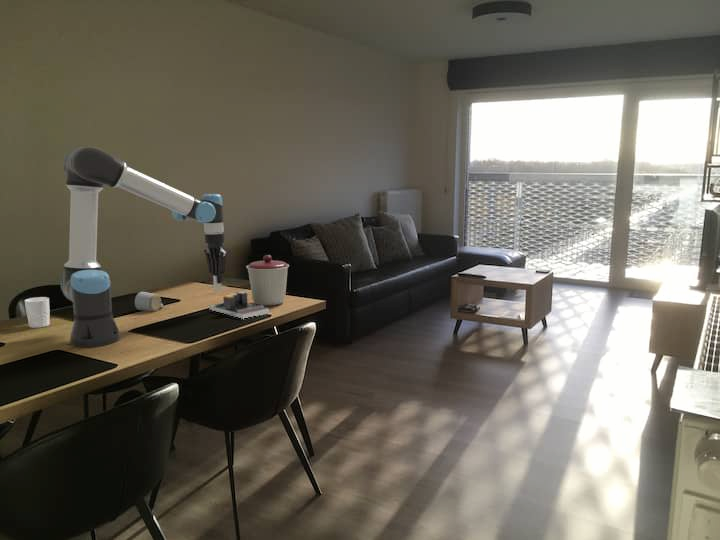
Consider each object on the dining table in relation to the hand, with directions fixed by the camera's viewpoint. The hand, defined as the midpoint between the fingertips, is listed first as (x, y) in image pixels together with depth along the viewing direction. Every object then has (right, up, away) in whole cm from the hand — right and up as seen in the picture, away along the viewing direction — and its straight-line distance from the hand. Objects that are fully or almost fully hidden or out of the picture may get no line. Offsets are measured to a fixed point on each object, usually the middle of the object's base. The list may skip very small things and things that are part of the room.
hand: (218, 290), depth 231 cm
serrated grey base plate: (+9, -9, -1) cm, 12 cm away
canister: (+19, -6, +15) cm, 24 cm away
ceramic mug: (-29, -8, +4) cm, 30 cm away
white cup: (-62, -12, -19) cm, 66 cm away
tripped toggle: (+6, -7, -4) cm, 10 cm away
